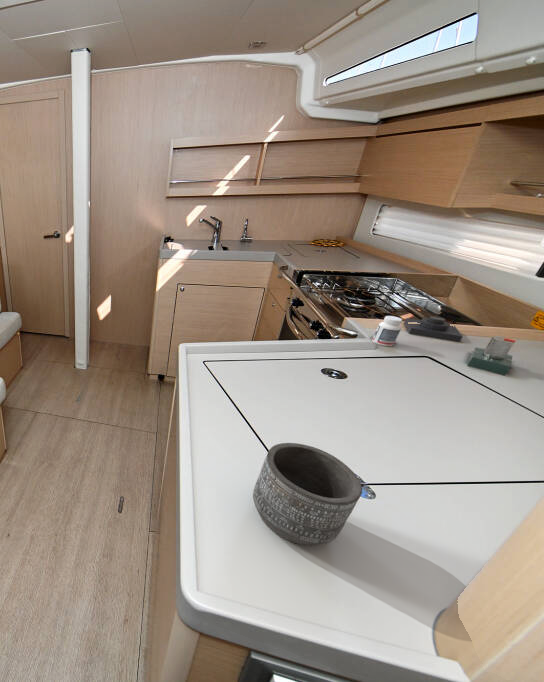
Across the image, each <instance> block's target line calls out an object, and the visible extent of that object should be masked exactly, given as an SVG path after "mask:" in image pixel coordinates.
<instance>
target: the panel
mask: <svg viewBox="0 0 544 682" xmlns="http://www.w3.org/2000/svg"><path fill="white" fill-rule="evenodd" d="M473 349H474V350H471V354H470V356H469V359H468V362H467V365H466V366H467V367H469V368H475V369H478V370H482V371H486V372H489V373H493V374H497V375H500V376H506V375H507V373H508V372H509V370H510V369H511V368H512V363H513V362H514V363H516V362H517V361H516V360H513V355H510V354H507V355H506V356H505V358H504V359H502V360H498V359H492V358H489V357H486V356H484V355H483V354H482V353H483V352H484V350H485V348H481V347H477V346H475V347H474V348H473Z"/></svg>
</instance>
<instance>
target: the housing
mask: <svg viewBox="0 0 544 682" xmlns="http://www.w3.org/2000/svg"><path fill="white" fill-rule="evenodd" d="M429 318H430V317H423V318H422V319H415V318H409V317H407V318H405V320H404V322H403V325H404V327H405V329H406V331H407V333H408V334H409V335H415V336H420V337H427V338H430V339H431V338H432V339H438V340H445V341H450V342H455V343H460V342H461V340H462V338H463V337H464V336H463V335H462V333H461V332H460V331H459V330H458V328H457V327H456V325H454V327H453V326H450V325H451V324H450V323H449V322H448V321H446V320H445V321H444V323H443V325H440V324H434V323H430V322H428V320H429ZM408 322H417V323H420V324H408Z"/></svg>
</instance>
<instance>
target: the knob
mask: <svg viewBox="0 0 544 682" xmlns="http://www.w3.org/2000/svg"><path fill="white" fill-rule="evenodd" d="M516 342H517V341H516V339H512V338H509V337H505V336H499V335H494V336H492V337H491V339H490V341H489V342H488V344H487V346H486V347H485V348H484V349H485V350H484V352H483V353H482V354H483V355H484V356H486V357H489V358H492V359H498V360H502V359H504V358H505V356H506V355H508V353H509V352H510V351H511V349H512V348H513V346H514V345H515V343H516Z"/></svg>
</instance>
